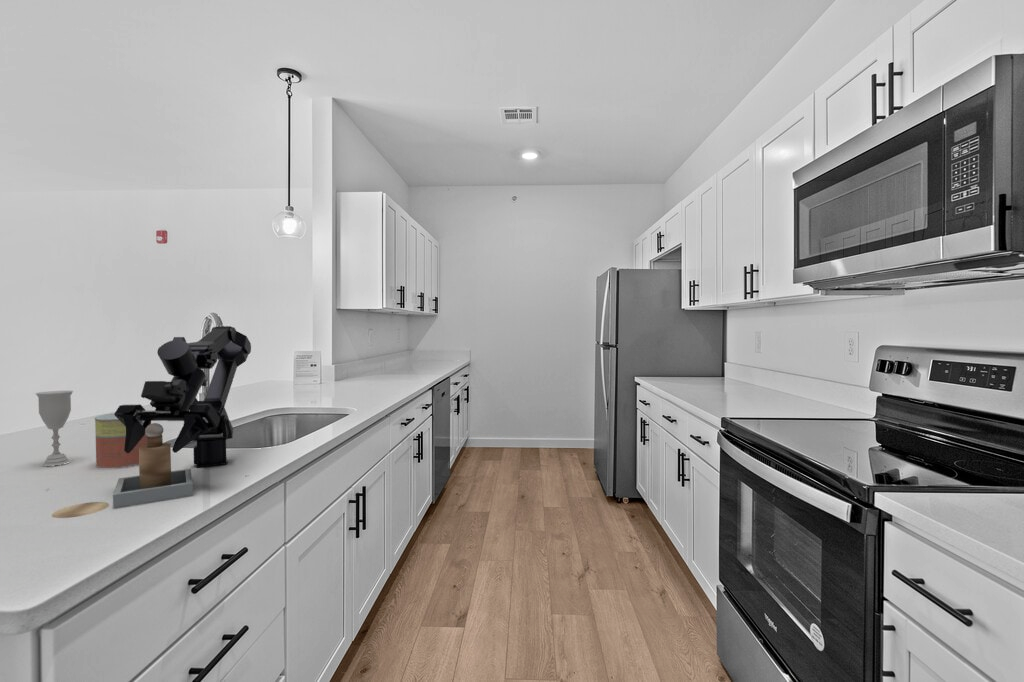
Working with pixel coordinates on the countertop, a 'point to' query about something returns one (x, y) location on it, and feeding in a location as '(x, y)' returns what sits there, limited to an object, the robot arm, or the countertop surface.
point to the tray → (152, 490)
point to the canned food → (114, 443)
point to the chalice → (55, 419)
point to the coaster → (80, 509)
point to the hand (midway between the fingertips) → (150, 451)
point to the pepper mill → (154, 459)
